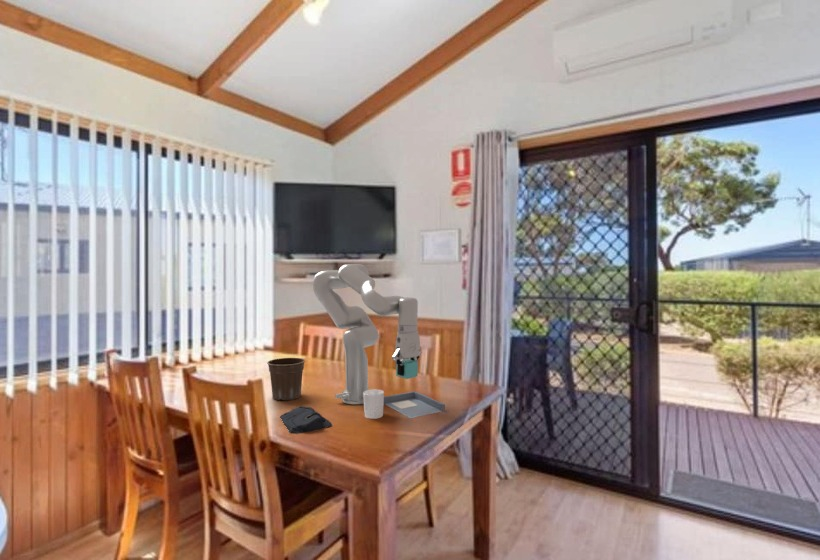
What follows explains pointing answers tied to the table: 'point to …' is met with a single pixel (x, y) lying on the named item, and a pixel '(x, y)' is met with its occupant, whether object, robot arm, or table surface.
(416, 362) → the teal cube
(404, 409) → the tray
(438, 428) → the table surface
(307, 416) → the dark slate chunk
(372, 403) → the white cup
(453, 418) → the table surface
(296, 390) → the plant pot
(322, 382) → the table surface
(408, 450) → the table surface
